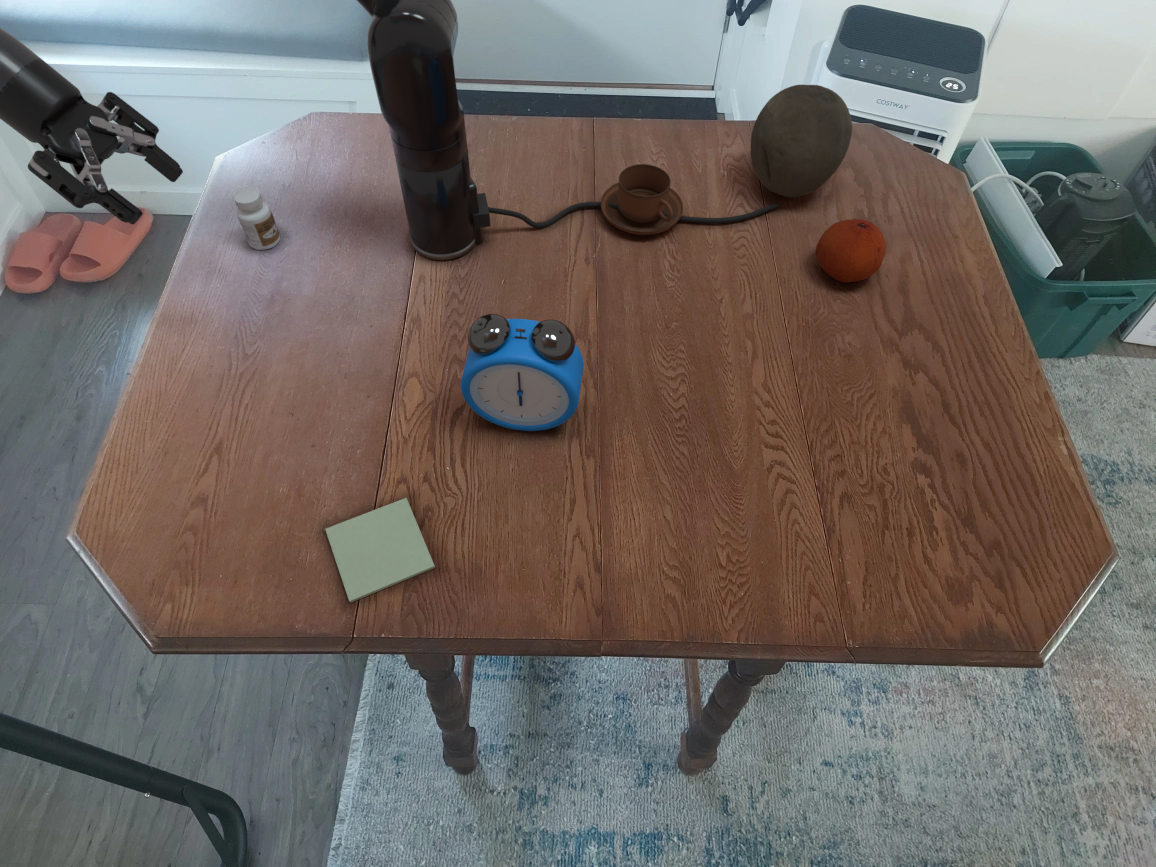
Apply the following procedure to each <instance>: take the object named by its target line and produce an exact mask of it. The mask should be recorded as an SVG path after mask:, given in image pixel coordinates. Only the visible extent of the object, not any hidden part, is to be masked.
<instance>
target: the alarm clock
mask: <svg viewBox="0 0 1156 867" xmlns="http://www.w3.org/2000/svg"><path fill="white" fill-rule="evenodd" d="M467 343H468V347H469V348H468V351H467V356H466V359H465V363H464V368H463V372H462V375H461V378H460V393H461V394H462V397H463V399H464V401H465V402H466V404H467V405H468V407H469V408H470V409H471V410H472V411H473V412H474V413H476V414H477V415H478V416H480V417H481V418H483V419H484V420H486V421H488V422H490V423H491V424H492V425H497V426H498V427H502V428H506V429H509V430H515V431H522V432H538V431H546V430H549V431H552V430H553V428H557V427H559V426H561V425H563V424H565V423H566V422H567V421H568V420H570V419H571V418H572V417H573V416H574V414H575V413H576V411H577V409H578V407H579V403H580V402H579V400H580V395H581V388H582V387H581V386H582V381H583V380H582V379H583V373H584V358H583V355H582V352H581V350H580V348H579V347H578V345H577V344H576V340H575V335H574V334H573V332H572V331H571V329H570V327H568V326H567V325H566V324H565V323H563V322H562V321H560V320H558V319H557V320H556V319H550V318H549V319H544V320H542V321H537V320H533V319H527V318H505V317H504V316H503V315H501V314H497V313H488V314H484V315H481V316H480V317H478V318H477V319H476V320H475V321H474V322H473V323H472V324H471V326H470V328H469V329H468V332H467Z"/></svg>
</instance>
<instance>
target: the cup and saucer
mask: <svg viewBox="0 0 1156 867" xmlns="http://www.w3.org/2000/svg"><path fill="white" fill-rule="evenodd" d="M618 175H619V176H618V182H617V183H614V184H613V185H611V186H610V187H608V188H607V189H606V190H605V191H604V193H603V194H602V196H601V199H600V202H601V208H600V209H601V213H602V215H603V216H604V218H605V219H606V220H607V222H608V223H609V224H611V225H612V226H614V227H615V228H617V229H619V230H620V231H623V232H625V233H628V234H633V235H637V236H649V235H656V234H660V233H663V232H665V231H668V230H670V229H671V228H673V227H674V226H675V225H676V224H678V222H680V221H679V219H680V217H681V216H683V212H684V204H683V200H682V199H681V197H680V195H679V194H678V193H677V192H676V191H675V190H674V189H673V188H671V184H672V183H671V182H672V181H671V177H670V175H669V174H668V173H667V171H665V169H663V168H661V167H659V166H657V165H652V164H646V163H638V164H633V165H629V166H628V167H626V168H624V169H623V170H622V171H621V172H620V173H619V174H618ZM608 204H615V205H617V206H618V209H619V210H620V211H619V210H616V209H614V208H611V207H610V206H608ZM664 213H665V214H669V216H668V217H666V216H664V215H663V214H664ZM673 215H675V217H673ZM659 217H661V218H659ZM672 217H673V218H672Z"/></svg>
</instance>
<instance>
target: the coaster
mask: <svg viewBox="0 0 1156 867" xmlns="http://www.w3.org/2000/svg"><path fill="white" fill-rule="evenodd" d="M324 531H325V532H326V536H327V539H328V543H329V545H330V548H331V551H332V554H333V558H334V560H335V563H336V566H337V570H338V572H339V575H340V578H341V582H342V584H343V587H344V590H345V593H346V597H347V599H348V602H349V603H350V604H352V603H354V602H356V601H358V600H360V599H363V598H365V597H368V596H371V595H373V594H375V593H378V592H380V591H382V590H385V589H388V588H390V587H392V586H395V585H397V584H399V583H402V582H405V581H406V580H410V579H412V578H414V577H416V576H419V575H421V574H423V573H426V572H429V571H431V570H433V569H435V568H436V566H435V564H434V560H433V558H432V556H431V554H430V550H429V549H428V546H427V544H426V541H425V539H424V537H423V534H422V531H421V529H420V527H419V524H418V522H417V519H416V517H415V515H414V512H413V509H412V507H411V505H410V503H409V500H408V498H407V497H405V498H402V499H399V500H396V501H394V502H391V503H389V504H386V505H383V506H381V507H378V508H375V509H373V510H370V511H368V512H366V513H363V514H360V515H357V516H354V517H352V518H350V519H349V518H348V519H347V520H344V521H342V522H339V523H337V524H333V525H332V526H329V527H326V528H325V530H324Z"/></svg>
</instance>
